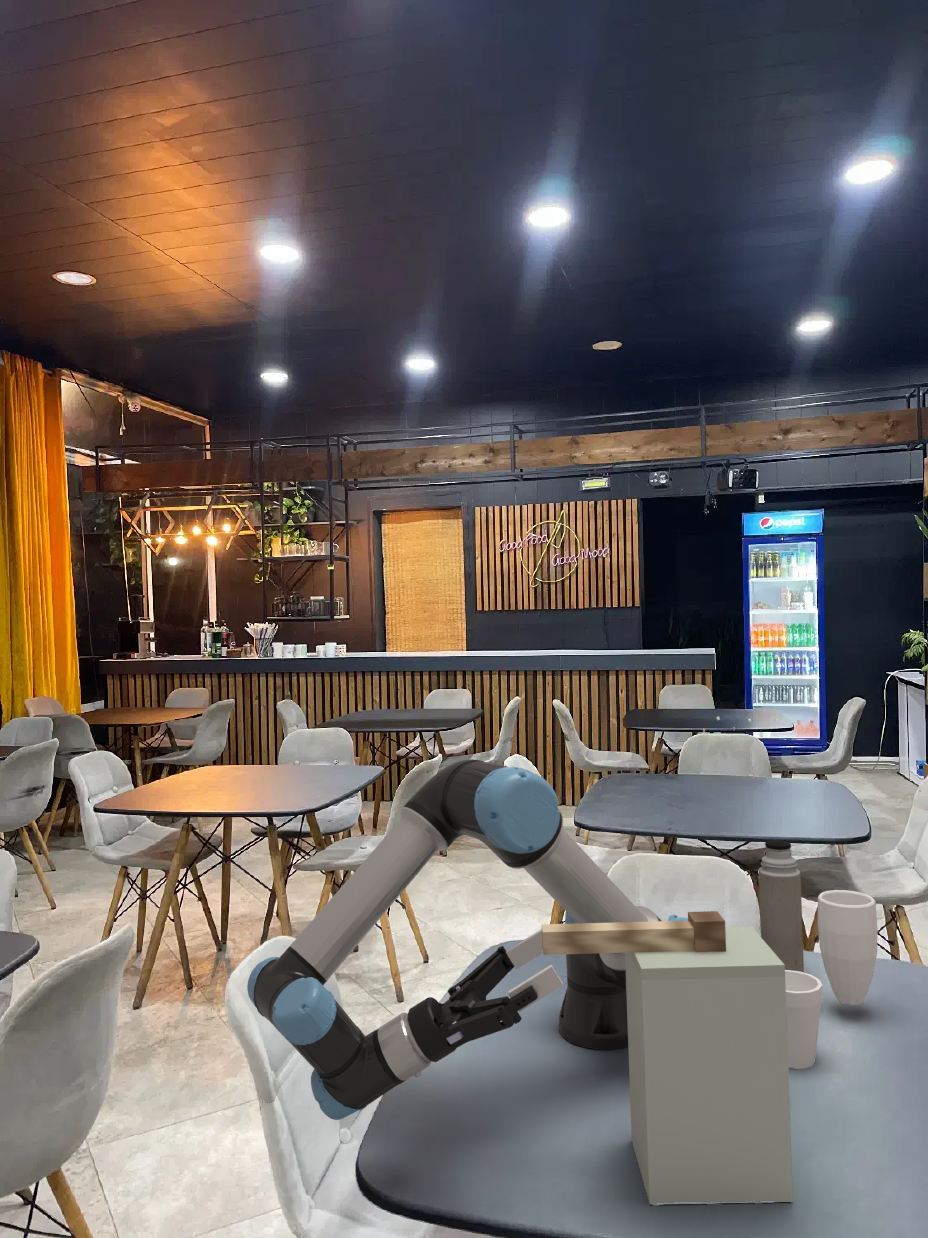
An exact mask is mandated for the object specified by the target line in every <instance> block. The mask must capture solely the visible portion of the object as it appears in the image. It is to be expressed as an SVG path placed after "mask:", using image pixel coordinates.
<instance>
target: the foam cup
mask: <svg viewBox="0 0 928 1238" xmlns="http://www.w3.org/2000/svg"><path fill="white" fill-rule="evenodd" d="M785 986H786V1014H787V1042H788V1069H795V1070H805V1069H809V1068H812V1067H813V1066H814V1064H816V1062H815V1060H816V1054H817V1048H818V1047H817V1044H818V1035H819V1026H820V1017H821V1007H822V1006H821V1005H822V1001H823V999H824V998H823V995H824V994H823V984H822V982H821V979H819V978H817V977H816V976H814V975H812V974H809V973H806V972H804V973H803V972H800V971H791V970H785Z"/></svg>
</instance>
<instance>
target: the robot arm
mask: <svg viewBox="0 0 928 1238" xmlns="http://www.w3.org/2000/svg"><path fill="white" fill-rule="evenodd" d="M559 805H560V803H559V798H558V797H557V793H556V792H555V790H554V789H553V787H552V786H551V784H550V783H549V782H548V781H547V780H546V779H545V778H543V777H542V776H541V775H539V774H537V773H534V772H533V771H530V770H528V769H525V768H522V767H518V766H507V765H501V764H496V763H492V762H488V761H484V760H480V759H463V760H459V761H456V762H454V763H452V764H449V765H447V766H446V767H444V768H443V769H441V770H440V771H438V772H437V773H435V774H434V775H433V776H431V778H429V779H428V780H427V781H425V783H424V784H423V785H422V786H421V787H419V789H418V790H417V791H415V793H414V794H413V795H412V796H411V797H410V798H409V800H407V802H405V804H404V805H403V806H402V808H401V809H400V820H399V821H398V822H397V823H396V824H395V825H394V826H393V828H392V829H391V830H390V831H389V832H388V833H387V835H386V836H385V837H384V838H383V839H382V840H381V841H380V842H379V843H378V845H377V846H376V847H375V848H374V850H373V851H372V852H371V853H370V854H369V855H368V856H367V857H366V859H364V861H363V862H362V863H361V864H360V865H359V866H358V867H357V868H356V870H355V871H354V872H353V873H352V874H351V876H350V877H349V878H348V879H347V880H346V881H345V882H344V883H343V885H342V886H341V887H340V888H339V889H338V891H336V892H335V894H334V895H333V896H332V897H331V898H330V899H329V901H328V902H327V903H326V904H325V905H324V907H322V908H321V909H320V911H319V912H318V913H317V914H316V915H315V916H314V918H313V919H312V920H311V921H310V922H309V923H308V925H306V927H305V928H304V929H303V930H302V931H301V933H299V935H298V936H297V937H296V938H295V940H293V941H292V943H291V944H290V945H289V947H288V948H287V949H285V950H284V952H283V953H282V954H281V955H280V956H279V957H278V956H272V957H267V958H266V959H264V960H262V961H260V962H258V963H257V964H256V966H255V967H253V969H252V970H251V973H250V974H249V977H248V981H247V987H246V988H247V994H248V998H249V1000H250V1001H251V1003H252V1004H253V1005H254V1007H255V1009H256V1010H257V1012H258V1013H259V1015H260V1016H262V1017H263V1018H265V1019H266V1020H267V1021H268V1022H269V1023H271V1025H272V1026H274V1028H275V1029H276V1031H278V1033H280V1034H281V1035H282V1036H283V1038H284V1039H285V1040H286V1041H287V1042H288V1043H289V1044H290V1045H292V1047H293V1048H294V1049H295V1050H296V1051H297V1052H298V1053H299V1054H300V1055H301V1057H303V1059H304V1060H305V1061H306V1062H307V1063H308V1064H309V1065H310V1066H311V1067H312V1068H313V1070H312V1072H311V1075H310V1087H311V1091H312V1095H313V1098H314V1100H315V1101H316V1102H317V1103H318V1105H319V1109H320V1111H321V1112H322V1113H323V1114H324V1115H325V1116H326V1117H328V1118H329V1119H330V1120H331V1119H332V1120H335V1121H338V1120H339V1121H340V1120H342V1119H344V1118H347V1117H349V1116H350V1115H353V1114H354V1113H357V1112H358V1111H362V1110H364V1109H365V1108H367V1106H368V1105H370V1104H372V1103H374V1101H376V1100H377V1099H379V1098H380V1097H382V1096H384V1095H385V1094H387V1092H390V1091H391V1090H393V1089H394V1088H396V1087H397V1086H399V1085H402V1084H403V1083H405V1082H406V1081H407V1080H409V1079H411V1078H412V1077H415V1078H418V1077H420V1076H421V1075H422V1071H424V1070H426V1069H427V1068H428V1067H430V1066H431V1063H437V1062H440V1060H441V1061H442V1059H444V1058H445V1057H447V1056H448V1055H451V1054H452V1053H453V1052H455V1051H456V1050H457V1049H458V1048H459V1047H461V1046H463V1045H465V1044H466V1043H469V1042H473V1041H475V1040H478V1039H481V1038H482V1037H483V1038H484V1037H486V1036H489V1035H492V1034H496V1033H497V1032H502V1031H503V1030H507V1029H510V1028H512V1027H513V1026H514V1025H516V1024H519V1023H520V1022H521V1020H522V1019H523V1018H522V1016H521V1015H520V1013H521V1012H522V1011H524V1010H525V1009H527V1008H529V1007H530V1006H532V1005H533V1004H535V1003H536V1002H538V1001H540V1000H541V999H543V998H544V997H547V996H548V995H549V994H551V993H553V992H555V991H556V990H557V989H559V988H561V987H562V986H563V985H564V984H563V981H562V979H561V978H560V975H558V974H557V973H556V971H555V970H554V968H555V967H554V966H553V965H552V964H550V965H548V966H547V967H545V968H543V969H542V970H540V971H539V972H537V973H535V974H533V975H532V976H530V977H529V978H527V979H525V980H524V981H522V982H521V983H519V984H518V985H516V986H514V987H512V988H511V989H509V990H508V991H507V994H508V996H502V997H501V996H500V997H497V998H492V999H491V998H490V999H487V996H488V995H489V994H490V993H491V992H492V990H493V989H494V988H495V987H496V986H497V985H498V984H499V983H500V982H501V981H503V979H504V978H505V977H506V976H507V975H508V974H509V973H510V972H511V971H512V970H513V969H514V968H515V970H518V969H519V968H521V967H522V966H524V965H526V964H527V963H529V962H531V961H532V960H533V959H536V958H537V957H539V956H540V955H542V954H544V953H543V948H542V928H540V929H539V930H537V931H536V932H534V933H533V934H531V935H529V936H528V937H526V938H525V939H523V940H522V941H520V942H519V943H516V944H515V945H514V946H512V947H510V948H508V950H506V948H505V946H504V945H501V946H499V947H498V948H497V949H496V951H495V952H493V953H492V954H491V955H489V957H488V958H486V959H485V960H483V961H482V962H481V963H480V964H479V965H478V966H477V967H475V968H474V969H473V970H472V971H470V973H469V974H467V975H466V976H464V978H462V980H460V981H459V982H457V983H455V984H454V985H453V986H451V987H449V989H448V990H447V994H448V995H449V998H448V999H447V1000H446V1001H445V1002H444V1003H440V1002H439V1001H438V1000H437V999H436V998H434V997H431V996H429V997H426V998H424V999H423V1000H421V1001H420V1002H418V1003H416V1004H415V1005H414V1006H412V1007H410V1008H409V1010H408V1012H402V1013H400V1014H398V1015H397V1016H395V1017H393V1018H392V1019H391V1020H389V1021H387V1022H386V1023H384V1024H383V1025H381V1026H380V1027H378V1028H377V1029H375V1030H373V1031H372V1032H369V1033H368V1034H366V1035H365V1034H364V1033H363V1032H362V1029H360V1027H359V1026H357V1025H356V1023H355V1022H354V1021H353V1019H352V1018H351V1017H350V1016H349V1015H348V1013H347V1012H346V1011H345V1010H344V1008H343V1007H342V1006H341V1005H340V1003H339V1002H338V1001H337V1000H336V999H335V998H334V997H335V996H334V995H333V993H332V992H331V991H330V990H328V989H327V988H326V987H325V986H324V985H325V984H326V983H327V982H328V980H329V979H330V978H331V977H332V976H333V975H334V974H335V972H337V970H338V969H339V968H340V966H341V965H342V964H343V962H344V961H346V959H347V958H348V957H349V956H350V955H351V954H352V952H353V951H354V950H355V949H356V947H357V946H358V945H359V944H360V942H362V941H363V939H364V938H365V937H366V935H367V934H369V932H370V931H371V929H372V928H373V927H374V926H375V925H376V924H377V923H378V921H379V920H381V918H382V917H383V916H384V915H385V913H386V912H387V911H388V909H389V908H390V907H391V906H392V905H393V904H394V903H395V902H396V900H397V899H398V898H399V897H400V895H401V894H403V892H404V891H405V889H406V888H407V887H409V885H410V884H411V882H412V881H413V880H414V879H415V878H416V877H417V875H418V874H419V873H420V872H421V871H422V870H423V868H424V867H425V866H426V865H427V863H429V861H430V860H431V859H432V858H433V857H434V855H435V854H436V852H437V853H438V852H443V851H444V852H445V851H447V850H448V849H449V847H450V846H451V845H452V844H453V843H454V842H455V841H456V840H457V839H458V838H460V837H462V836H464V835H465V836H467V837H470V838H473V839H476V840H478V841H480V842H481V843H483V844H485V846H486V847H487V848H488V849H489V850H491V852H493V854H494V855H496V857H498V858H499V859H500V861H501V862H502V863H504V864H505V865H506V866H507V867H509V868H510V869H519V870H520V869H524V870H525V871H526V873H527V874H528V875H530V877H532V878H533V879H534V881H535V882H536V883H538V884H539V885H540V887H541V888H542V889H543V890H544V891H545V892H546V893H548V895H549V896H550V897H551V898H552V899H553V900H554V901H556V903H557V904H558V905H559V906H560V907H561V908H562V909H563V910H564V911H565V916H564V917H565V918H564V919H565V920H564V921H565V922H564V924H579V923H616V922H652V921H662V919H661V918H659V916H658V915H657V914H656V913H655V912H654V911H653V910H651V909H650V908H648V907H646V906H641V905H635V904H634V903H633V902H632V901H631V900H630V898H628V897H627V896H626V894H625V893H624V892H623V891H622V890H621V889H620V888H619V887H618V885H616V883H614V882H613V880H612V879H611V878H610V877H609V876H608V875H607V874H606V873H605V872H604V871H603V870H602V869H601V868H600V867H599V865H597V863H596V862H595V861H594V860H593V859H592V858H591V857H590V856H589V855H588V854H587V852H586V851H584V850H583V849H582V847H581V846H580V845H579V844H578V843H577V842H576V841H575V840H574V839H573V838H572V837H571V836H570V834H569V833H568V832H566V830H565V829H564V818H563V817H564V816H563V813H562V812H561V810H560V809H559V808H558V806H559ZM565 959H566V973H567V977H566V982H567V983H566V984H567V987H566V990H565V993H564V997H563V1000H562V1004H561V1007H560V1008H561V1009H560V1011H559V1014H558V1030H559V1033H560V1035H561V1036H562V1038H563V1039H565V1040H566V1041H568V1042H569V1043H572V1044H573V1045H576V1046H579V1047H583V1048H587V1049H593V1050H616V1049H622V1048H627V1047H628V1021H627V993H626V965H625V953H593V954H565Z"/></svg>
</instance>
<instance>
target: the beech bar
mask: <svg viewBox="0 0 928 1238" xmlns="http://www.w3.org/2000/svg"><path fill="white" fill-rule="evenodd" d="M687 918H688V921H668V920H661V921H652V922H616V923H579V924H565V923H552V924H551V923H548V924H547V923H546V924H545V923H544V924H543V923H542V924H541V929H542V948H543V953H542V954H543V955H544V956H545V955H547V956H549V955H553V956H554V955H555V956H556V955H566V954H593V953H631V952H668V951H695V952H723V951H726V931H725V927H726V921H725V919H724V918H723V916H722V915H721V914H720V913H719V911H718V910H714V911H713V910H711V911H710V910H707V911H705V910H704V911H687Z"/></svg>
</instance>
